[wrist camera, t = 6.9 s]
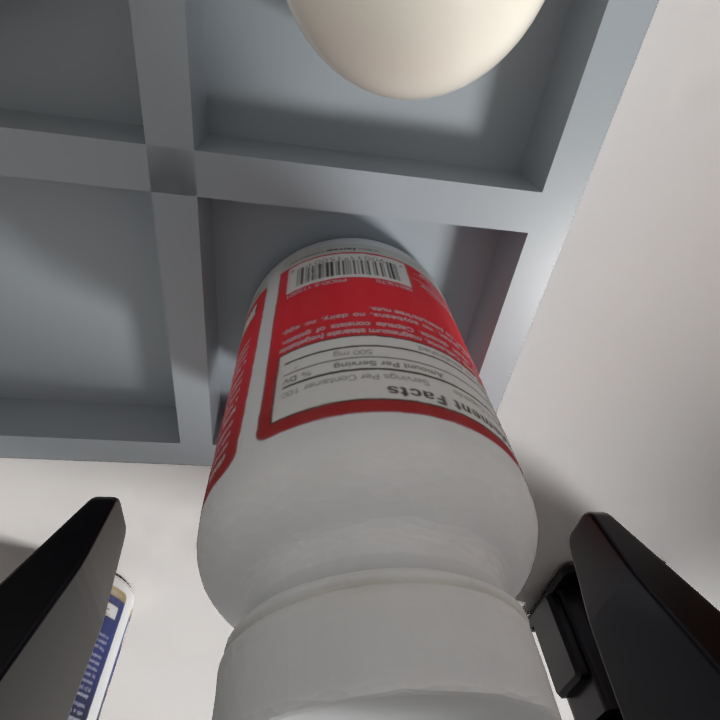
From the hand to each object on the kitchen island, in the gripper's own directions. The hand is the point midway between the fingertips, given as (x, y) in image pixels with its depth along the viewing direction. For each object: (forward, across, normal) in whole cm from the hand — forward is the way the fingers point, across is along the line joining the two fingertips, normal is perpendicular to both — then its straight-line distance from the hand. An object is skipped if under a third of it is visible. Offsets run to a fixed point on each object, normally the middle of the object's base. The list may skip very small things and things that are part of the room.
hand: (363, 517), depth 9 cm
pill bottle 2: (+8, 0, 0) cm, 8 cm away
